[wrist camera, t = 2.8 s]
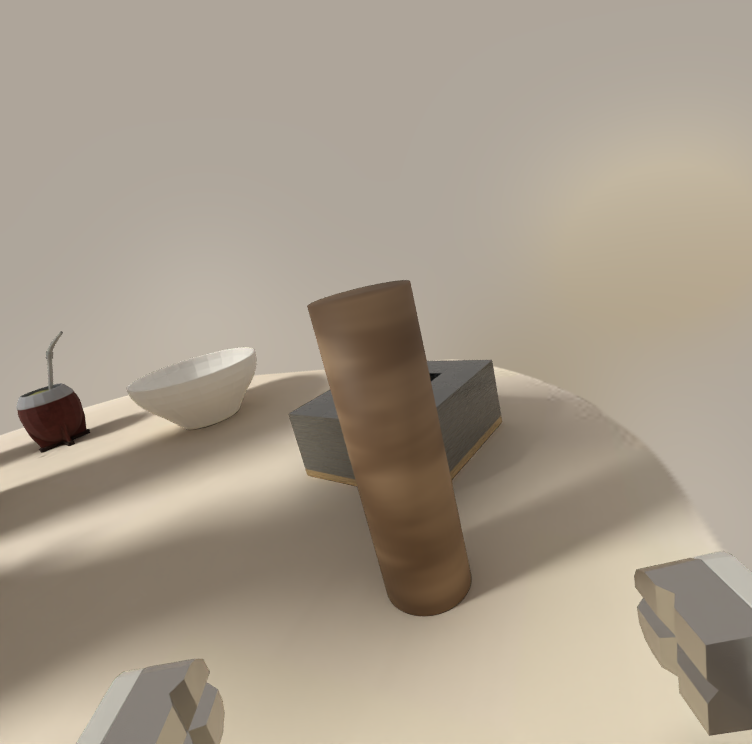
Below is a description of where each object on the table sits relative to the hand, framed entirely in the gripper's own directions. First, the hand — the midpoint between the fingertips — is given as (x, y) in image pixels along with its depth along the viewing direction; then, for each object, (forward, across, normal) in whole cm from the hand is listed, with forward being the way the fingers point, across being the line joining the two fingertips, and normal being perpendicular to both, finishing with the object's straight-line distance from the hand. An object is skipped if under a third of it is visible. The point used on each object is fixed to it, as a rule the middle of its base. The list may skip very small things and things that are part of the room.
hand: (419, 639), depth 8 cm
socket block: (+27, 0, +10) cm, 29 cm away
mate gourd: (+52, +48, +9) cm, 71 cm away
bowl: (+48, +25, +10) cm, 55 cm away
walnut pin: (+12, 0, +10) cm, 16 cm away
